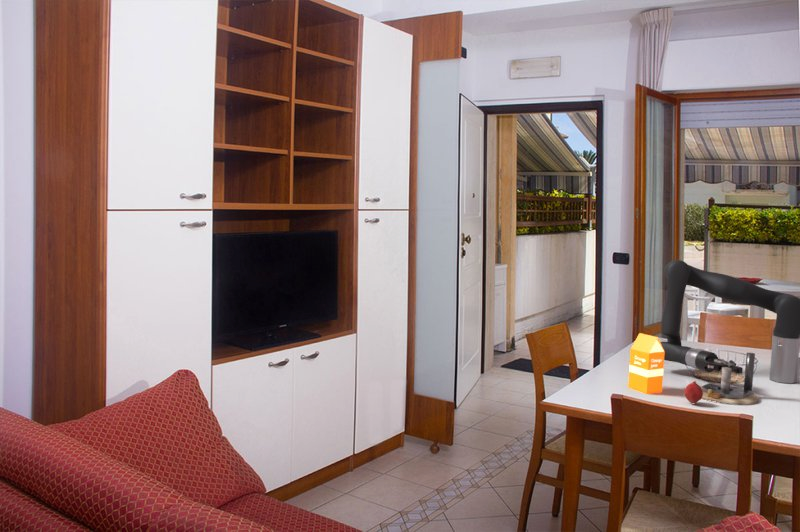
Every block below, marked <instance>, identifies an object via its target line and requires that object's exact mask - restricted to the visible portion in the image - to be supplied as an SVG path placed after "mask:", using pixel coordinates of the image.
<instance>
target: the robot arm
mask: <svg viewBox="0 0 800 532" xmlns="http://www.w3.org/2000/svg"><path fill="white" fill-rule="evenodd" d="M663 272H664V273H663V274H664V277H665V278H666V281H667V289H666V292H667V293H666V298H665V302H664V304H665V305H664V308H663V311H662V317H661V325H660V326H661V327H660V333H661V334H662V335H664V336H666V339H667V340H666V341H660V343H661V345H662V347H663V350H664V352H665V353H664V361H666V362H674V363H678V364H681V365H683V366H684V365H685V366H688V367H690V368H693V369H696V370H700V371H703V372H706V373H712V372H714V371H715V372H721V373H722V367H728V368H731V369H732V370H731V373H734V374H737V375H740V374H743V367H742V366H737V363H736V362H735V361H734V360H732V359H731V360H729V361H728V360H724V359H723V358H720V357H718V355H717V354H716V353H715V352H714V351H708V350H704V349H701V348H694V347H690V346H686V345H682V337H681V333H680V332H681V324H682V316H683V315H682V314H683V304H684V298H685V293H686V289H687V288H686V287H687V286H689V287H693V288H697V289H699V290H701V291H703V292H705V293H709V294H710V295H712V296H715V297H718V298H719V299H720V298H721V299H723V300H727V301H730V302H733V303H737V304H741V305H747V306H754V307H759V308H762V309H764V310H767V311H769V312H772V313H774V314H776V318H775V319H776V320H775V326H774V328H773V330H772V342H771V343H772V344H771V352H770V353H771V355H770V366H769V380H770V381H773V382H777V383H782V384H795V383H799V382H800V356H799V355H800V298H799V296H798V297H797V296H795V295H793V294H790V293H785V292H779V291H775V290H770V289H767V288H763V287H761V286H759V285H756V284H755V283H752V282H749V281H746V280H744V279H741V278H738V277H735V276H732V275H728V274H725V273H719V272H713V271H707V270H703V269H701V268H698V267H694V266H693V265H690V264H688V263H687V262H685V261H683V260H679V259H678V260H677V259H675V260H672V261H669V262H667V264H666V265H665V266H664V269H663Z"/></svg>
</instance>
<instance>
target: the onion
mask: <svg viewBox="0 0 800 532" xmlns="http://www.w3.org/2000/svg"><path fill="white" fill-rule="evenodd" d="M700 386H701V385H699V384H698V383H697V381H696V380H693V381H692V382H690V383H689V384H688V385H687V386H686V387H685V388H684V390H683V394H684V397H685V399H686V400H687V401H688V402H689V403H690V404H691V403H695V404H696V403H698V402H699V401H701V400H702V396H703V391H702V389H701V387H700Z"/></svg>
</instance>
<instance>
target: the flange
mask: <svg viewBox="0 0 800 532" xmlns="http://www.w3.org/2000/svg"><path fill="white" fill-rule="evenodd" d="M745 358H746V359H745V370H744V383H743V387H740V386H738V385H737V386H736V385H731V384H730V391H723V390H721V383H707V384H705V385H704V386H703V385H701V386H702V390H703V391H704V392H706V393H707V394H708V389H712V393H711V396H710V397H713V398H717V399H718V398H720V397H724V398H745V397H747V396H749V394H755V393H756V391H755V390H754V389H753V381H754V371H755V370H754V368H755V360H756V359H755V358H756V353H754V352H746V357H745ZM755 395H756V394H755Z"/></svg>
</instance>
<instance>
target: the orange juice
mask: <svg viewBox="0 0 800 532" xmlns="http://www.w3.org/2000/svg"><path fill="white" fill-rule="evenodd" d="M660 342H661V341H660V339H659V337H658V336H654V335H650V334H645V333H642V332H639V333H638V335H637V337H636V339H635V340H634V343H633V344H632V346H631V347H630V351H629V354H630V355H629V368H628V371H629V372H628V386H627V388H628V389H631V390H633V391H636V392H639V393H642V394H645V395H651V394H658V393H663V380H664V368H665V367H664V365H665V360H664V353H665V352H664V350H663V347H662V345H661V343H660Z"/></svg>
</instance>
